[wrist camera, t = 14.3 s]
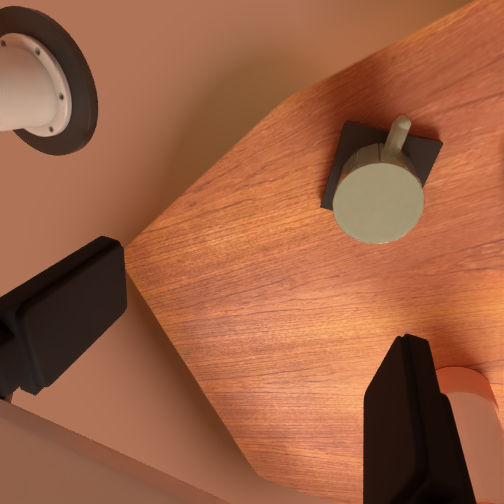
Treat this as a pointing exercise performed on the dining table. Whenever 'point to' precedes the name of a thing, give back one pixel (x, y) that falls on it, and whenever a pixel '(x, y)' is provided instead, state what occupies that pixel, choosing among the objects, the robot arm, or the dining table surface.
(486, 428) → the pepper shaker
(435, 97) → the dining table surface
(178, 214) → the dining table surface
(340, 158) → the cup stand
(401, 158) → the cup
